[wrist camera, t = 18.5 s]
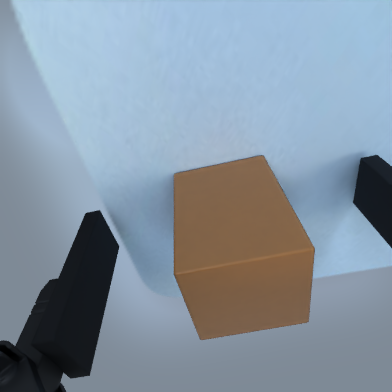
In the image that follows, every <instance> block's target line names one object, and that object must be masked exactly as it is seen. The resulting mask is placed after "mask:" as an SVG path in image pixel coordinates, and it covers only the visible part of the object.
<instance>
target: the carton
mask: <svg viewBox="0 0 392 392" xmlns="http://www.w3.org/2000/svg"><path fill="white" fill-rule="evenodd" d="M314 252H315V248H314V246H313V244H312V242H311V241H310V239H309V237H308V235H307V233H306V232H305V230H304V228H303V226H302V224H301V223H300V221H299V219H298V217H297V215H296V213H295V212H294V210H293V208H292V206H291V204H290V203H289V201H288V199H287V197H286V195H285V194H284V192H283V190H282V188H281V186H280V184H279V183H278V181H277V179H276V177H275V175H274V174H273V172H272V170H271V168H270V166H269V165H268V163H267V161H266V159H265V157H264V156H263V155H261V156H256V157H251V158H247V159H242V160H237V161H232V162H228V163H223V164H218V165H213V166H209V167H204V168H199V169H194V170H189V171H185V172H180V173H175V174H174V276H175V278H176V281H177V283H178V286H179V288H180V291H181V293H182V296H183V298H184V301H185V303H186V306H187V308H188V311H189V313H190V316H191V318H192V321H193V323H194V326H195V328H196V330H197V333H198V335H199V338H200V340H205V339H211V338H217V337H224V336H229V335H236V334H242V333H247V332H254V331H259V330H265V329H272V328H278V327H284V326H289V325H296V324H302V323H307V322H309V312H310V300H311V287H312V276H313V264H314Z"/></svg>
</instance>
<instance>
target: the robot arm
mask: <svg viewBox="0 0 392 392" xmlns="http://www.w3.org/2000/svg"><path fill="white" fill-rule="evenodd" d="M353 203H354V204H355V205H356V207H357V208H358V209H359V210H360V211H361V213H362V214H363V215H364V216H365V217H366V218H367V220H368V221H369V222H370V223H371V224H372V225H373V227H374V228H375V229H376V230H377V231H378V233H379V234H380V235H381V236H382V237H383V238H384V240H385V241H386V242H387V243H388V244H389V245H390V247H391V248H392V166H390V165H389V164H388V163H387V162H385V161H384V160H383V159H382V158H380V157H379V156H378V155H374V156H369V157H364V158H361V160H360V165H359V171H358V177H357V183H356V188H355V194H354V200H353ZM118 250H119V245H118V243H117V241H116V240H115V238H114V236H113V234H112V232H111V230H110V228H109V226H108V225H107V223H106V221H105V219H104V217H103V215H102V213H101V212H100V210H99V211H94V212H89V213H86V214H85V216H84V218H83V221H82V223H81V225H80V228H79V230H78V233H77V235H76V238H75V240H74V242H73V245H72V247H71V249H70V252H69V254H68V257H67V259H66V261H65V264H64V266H63V269H62V271H61V273H60V276H59V278H58V279H52V280H49V282H48V283H47V284H46V285H45V286H44V288H43V289H42V290H41V292H40V294H39V296H38V298H37V300H36V302H35V303H36V305H34V307H33V309H32V311H31V315H29V318H28V320H27V322H26V324H25V326H24V329H23V331H22V333H21V335H20V337H19V339H18V342H17V344H16V346H14V345H13V344H11V343H10V342H9V341H0V392H66V390H65V388H64V386H63V385H62V384H61V383H60V381H61V378H62V375H63V372H64V373H65V374H66V375H67V376H68V377H70V378H77V377H84V376H90V371H91V368H92V363H93V359H94V355H95V350H96V345H97V341H98V337H99V333H100V328H101V324H102V319H103V315H104V311H105V307H106V302H107V298H108V293H109V289H110V285H111V281H112V276H113V272H114V267H115V263H116V259H117V254H118Z"/></svg>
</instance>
